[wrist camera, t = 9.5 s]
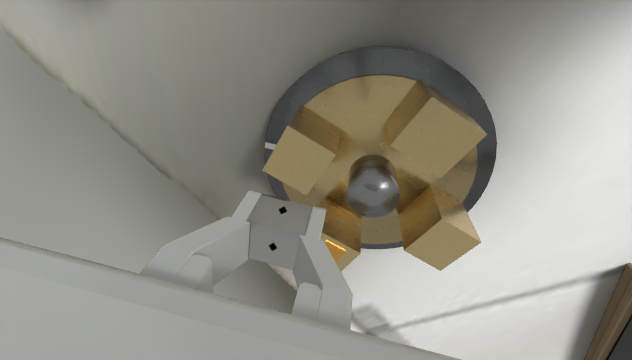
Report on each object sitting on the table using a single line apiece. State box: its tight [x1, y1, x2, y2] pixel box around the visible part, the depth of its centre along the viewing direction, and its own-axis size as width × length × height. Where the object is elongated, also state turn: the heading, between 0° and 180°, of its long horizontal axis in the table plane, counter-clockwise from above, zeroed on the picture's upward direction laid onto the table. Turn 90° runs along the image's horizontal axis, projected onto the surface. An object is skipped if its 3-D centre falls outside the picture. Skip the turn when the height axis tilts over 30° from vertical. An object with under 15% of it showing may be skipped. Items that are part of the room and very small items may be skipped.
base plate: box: [264, 46, 497, 249], centre depth 31 cm, size 24×24×2 cm
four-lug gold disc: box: [262, 74, 487, 272], centre depth 27 cm, size 20×20×6 cm
